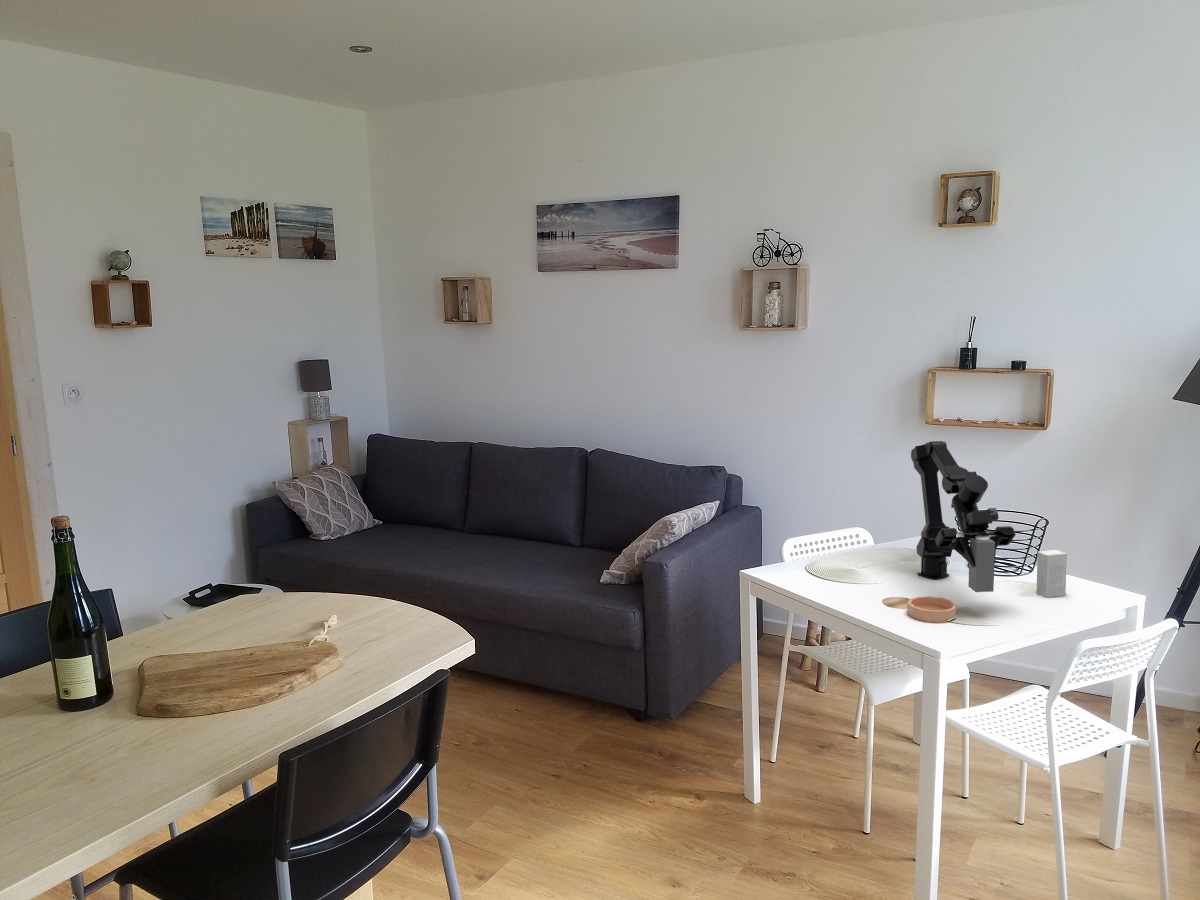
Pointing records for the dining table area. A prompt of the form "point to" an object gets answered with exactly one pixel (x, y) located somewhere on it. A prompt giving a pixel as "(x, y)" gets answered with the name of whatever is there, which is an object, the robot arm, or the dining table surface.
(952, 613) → the ring dish
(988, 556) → the canister
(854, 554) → the dining table surface
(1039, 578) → the skincare box
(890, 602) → the cork coaster
